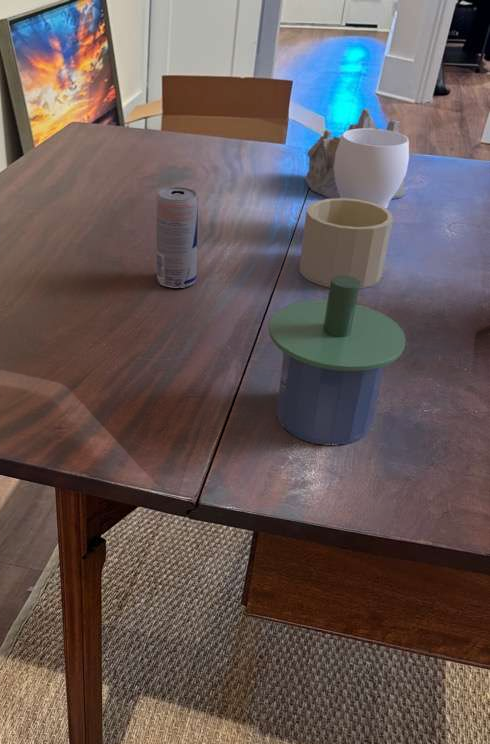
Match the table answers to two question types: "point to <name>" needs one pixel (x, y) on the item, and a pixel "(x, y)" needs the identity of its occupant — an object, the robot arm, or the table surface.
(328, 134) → the ceramic cottage
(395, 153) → the cup
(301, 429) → the tumbler
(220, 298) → the table surface
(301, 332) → the tin lid
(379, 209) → the tin
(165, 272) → the energy drink
